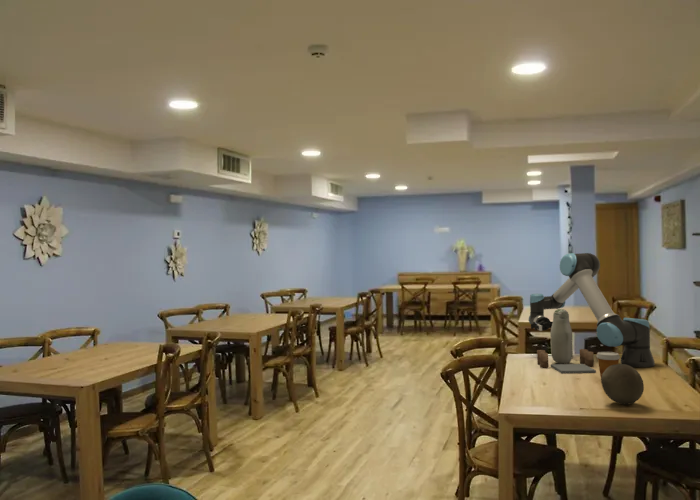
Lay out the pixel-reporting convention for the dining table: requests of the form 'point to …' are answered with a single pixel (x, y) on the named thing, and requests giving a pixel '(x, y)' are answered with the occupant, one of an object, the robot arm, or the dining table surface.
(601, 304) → the robot arm
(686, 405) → the dining table surface
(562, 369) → the mat
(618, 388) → the coconut
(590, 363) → the cylinder
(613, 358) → the disposable coffee cup
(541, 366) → the cylinder
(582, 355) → the cylinder
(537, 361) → the cylinder
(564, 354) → the grey ceramic vase
